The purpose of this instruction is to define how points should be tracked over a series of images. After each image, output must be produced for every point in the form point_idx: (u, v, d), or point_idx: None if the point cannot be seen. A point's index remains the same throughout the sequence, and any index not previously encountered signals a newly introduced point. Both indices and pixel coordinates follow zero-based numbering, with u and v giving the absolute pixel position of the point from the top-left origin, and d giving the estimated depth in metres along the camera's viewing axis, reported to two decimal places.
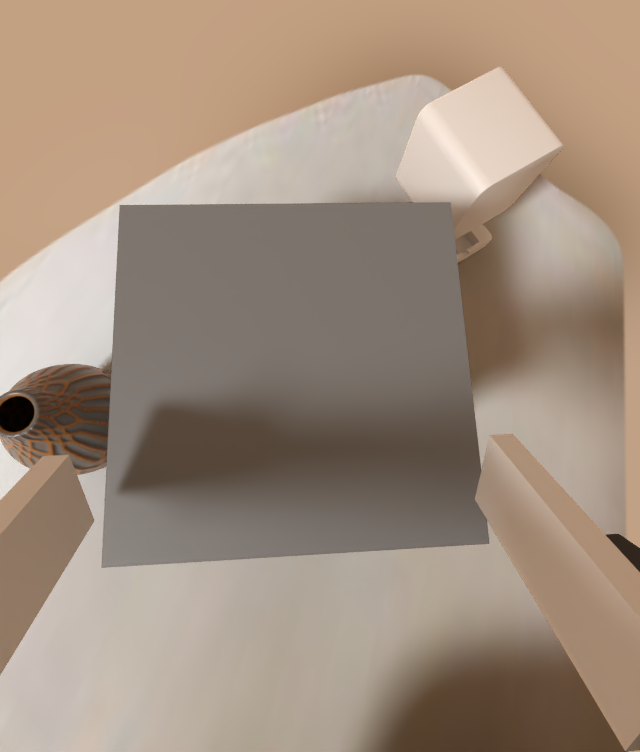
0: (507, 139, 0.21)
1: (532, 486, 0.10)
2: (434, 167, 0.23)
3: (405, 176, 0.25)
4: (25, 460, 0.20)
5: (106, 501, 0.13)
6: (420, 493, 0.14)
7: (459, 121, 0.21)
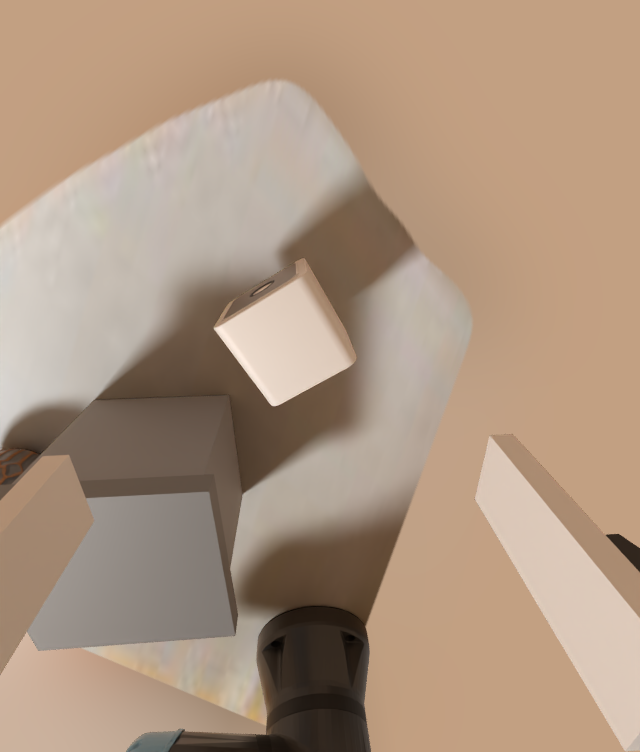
0: (297, 362, 0.22)
1: (532, 486, 0.10)
2: None
3: None
4: None
5: (28, 630, 0.26)
6: (197, 622, 0.26)
7: (250, 345, 0.21)
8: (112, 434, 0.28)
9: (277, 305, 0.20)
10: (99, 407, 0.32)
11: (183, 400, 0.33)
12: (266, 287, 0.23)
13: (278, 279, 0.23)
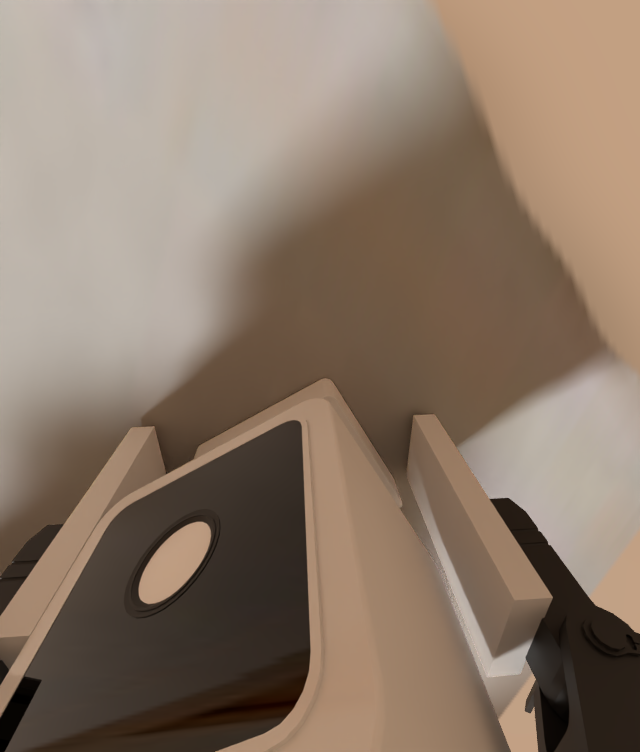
0: None
1: (437, 457, 0.11)
2: None
3: None
4: None
5: None
6: None
7: None
8: None
9: None
10: None
11: None
12: (180, 589, 0.05)
13: (232, 545, 0.06)
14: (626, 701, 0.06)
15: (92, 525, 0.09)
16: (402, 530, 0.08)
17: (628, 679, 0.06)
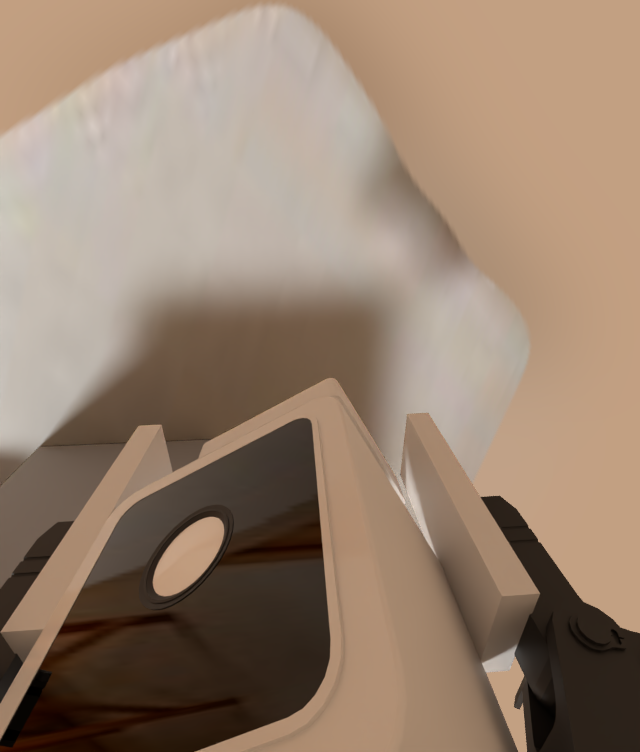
0: None
1: (429, 455, 0.11)
2: None
3: None
4: None
5: None
6: None
7: None
8: (51, 506, 0.21)
9: None
10: (42, 459, 0.24)
11: None
12: (196, 582, 0.05)
13: (247, 539, 0.06)
14: (611, 695, 0.06)
15: (102, 521, 0.09)
16: (409, 527, 0.08)
17: (613, 673, 0.06)
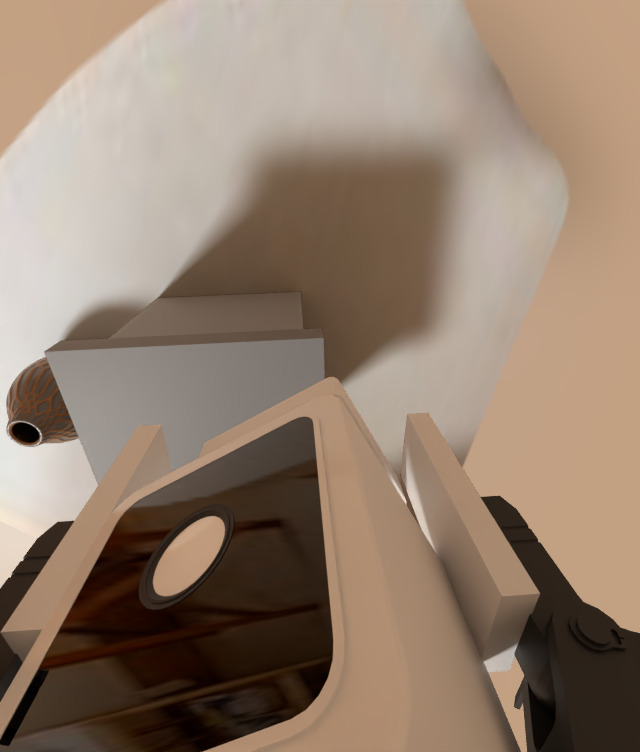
0: None
1: (429, 455, 0.11)
2: None
3: None
4: None
5: None
6: None
7: None
8: (190, 317, 0.26)
9: None
10: (165, 302, 0.30)
11: (253, 295, 0.31)
12: (196, 582, 0.05)
13: (248, 539, 0.06)
14: (612, 696, 0.06)
15: (102, 521, 0.09)
16: (411, 527, 0.08)
17: (613, 674, 0.06)
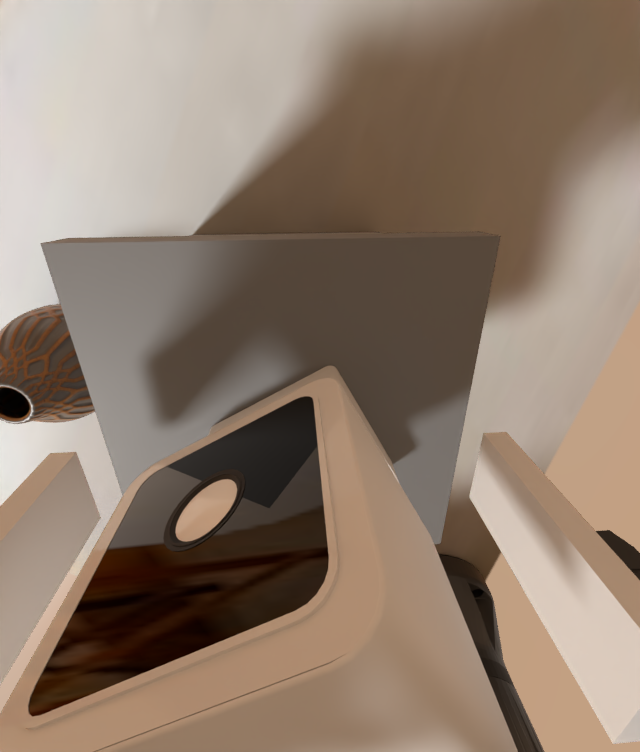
0: None
1: (524, 483, 0.10)
2: None
3: None
4: None
5: None
6: None
7: None
8: None
9: (240, 739, 0.04)
10: None
11: (319, 233, 0.23)
12: (214, 528, 0.06)
13: (257, 493, 0.07)
14: None
15: None
16: (399, 494, 0.09)
17: None
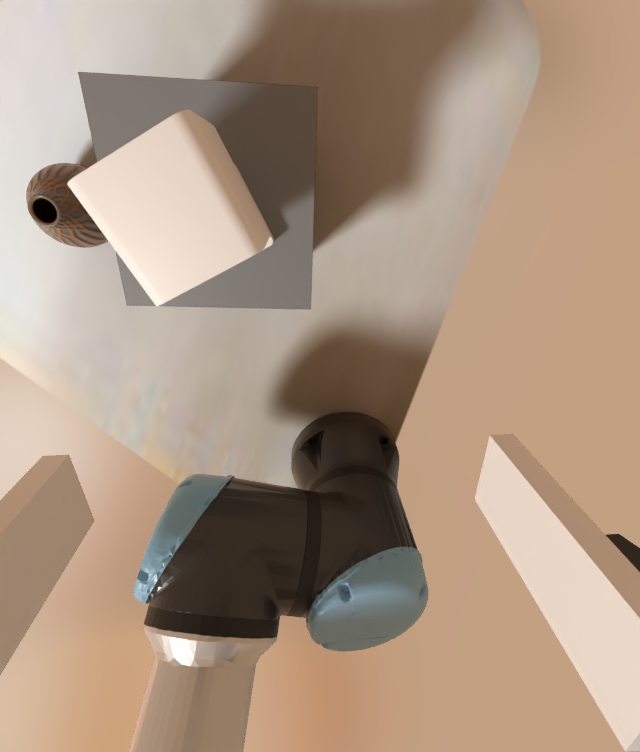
0: (182, 243, 0.17)
1: (532, 486, 0.10)
2: None
3: None
4: (57, 238, 0.32)
5: (121, 275, 0.27)
6: (279, 284, 0.28)
7: (117, 212, 0.16)
8: None
9: (148, 154, 0.15)
10: None
11: None
12: None
13: None
14: None
15: None
16: (241, 182, 0.20)
17: None
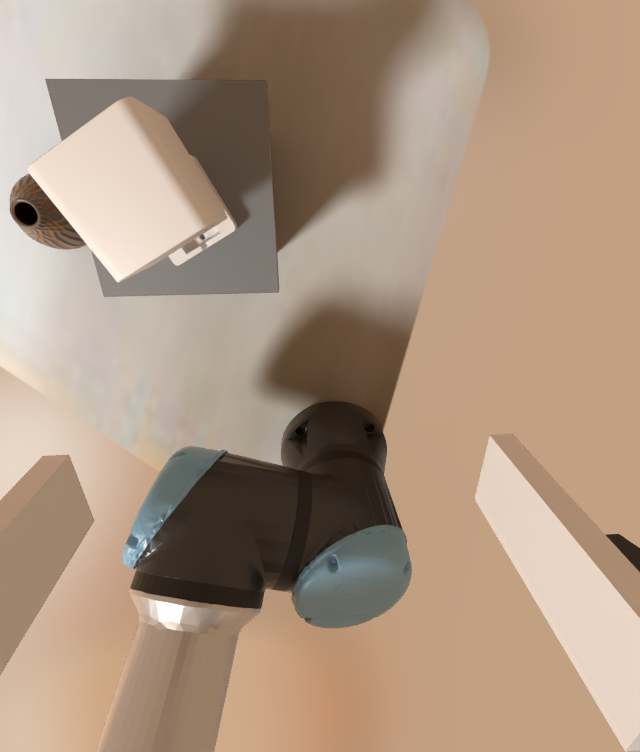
0: (135, 220, 0.18)
1: (532, 486, 0.10)
2: None
3: None
4: (40, 240, 0.34)
5: (97, 268, 0.29)
6: (246, 269, 0.29)
7: (74, 194, 0.18)
8: None
9: (97, 138, 0.17)
10: None
11: None
12: None
13: None
14: None
15: None
16: (194, 167, 0.21)
17: None
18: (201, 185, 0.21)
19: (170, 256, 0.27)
